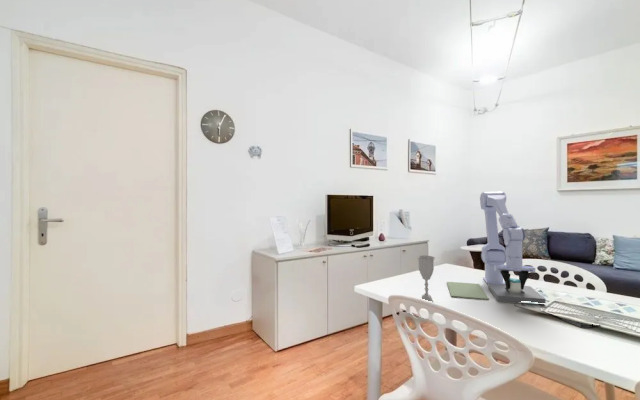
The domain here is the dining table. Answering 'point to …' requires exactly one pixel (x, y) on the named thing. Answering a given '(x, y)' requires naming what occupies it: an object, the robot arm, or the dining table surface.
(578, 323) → the phone
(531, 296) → the housing
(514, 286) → the cylinder
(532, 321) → the dining table surface
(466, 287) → the mat
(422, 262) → the chalice
